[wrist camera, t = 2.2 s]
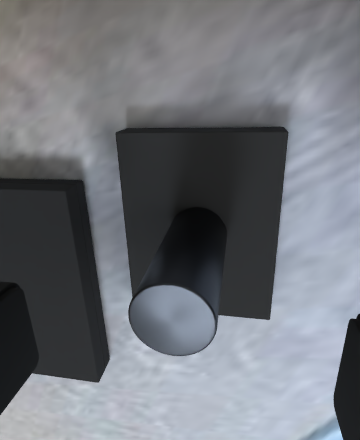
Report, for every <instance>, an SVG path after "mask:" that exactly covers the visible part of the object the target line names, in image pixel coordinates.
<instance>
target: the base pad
mask: <svg viewBox="0 0 360 440" xmlns="http://www.w3.org/2000/svg"><path fill="white" fill-rule="evenodd" d="M0 281H1V282H13V283H17V284H18V285H19V286H20V288H21V289H23V291H24V294H25V298H26V302H27V306H28V311H29V315H30V319H31V323H32V327H33V331H34V336H35V340H36V344H37V348H38V352H39V362H38V365H37V367H36V368H35V370H34V371H33V372H32V373H34V374H41V375H48V376H55V377H62V378H69V379H76V380H83V381H90V382H99V381H100V379H101V377H102V375H103V373H104V371H105V368H106V366H107V364H108V362H109V360H110V358H109V352H108V345H107V338H106V332H105V325H104V318H103V312H102V305H101V298H100V292H99V285H98V278H97V272H96V265H95V258H94V252H93V245H92V238H91V232H90V225H89V218H88V212H87V205H86V198H85V192H84V185H83V181H82V180H44V179H0Z"/></svg>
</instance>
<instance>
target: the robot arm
mask: <svg viewBox="0 0 360 440" xmlns="http://www.w3.org/2000/svg"><path fill="white" fill-rule="evenodd" d="M38 362H39V352H38V348H37V344H36V340H35V336H34V331H33V327H32V323H31V319H30V315H29V311H28V306H27V302H26V298H25V294H24V291H23V289H21V288H20V286H19V285H18V284H17V283H13V282H1V281H0V415H1V413H2V412H3V411H4V409H5V408H6V407H7V406H8V404H9V403H10V402H11V400H12V399H13V398H14V396H15V395H16V394H17V392H18V391H19V390H20V388H21V387H22V386H23V384H24V383H25V382H26V380H27V379H28V378H29V376H30V375H31V374H32V372H33V371H34V370H35V368H36V367H37V365H38ZM334 408H335V412H336V416H337V419H338V423H339V426H340V430H341V433H342V437H343V440H360V314H358V316H357V318H356V319H350V320H349V324H348V328H347V333H346V338H345V343H344V348H343V353H342V358H341V362H340V367H339V372H338V377H337V382H336V387H335V392H334Z"/></svg>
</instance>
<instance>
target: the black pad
mask: <svg viewBox="0 0 360 440" xmlns="http://www.w3.org/2000/svg"><path fill="white" fill-rule="evenodd" d="M287 140H288V131H287V130H286V129H285V128H284V127H241V128H127V129H124V130H121V131H119V132H116V142H117V151H118V161H119V171H120V180H121V190H122V200H123V209H124V219H125V229H126V238H127V248H128V258H129V267H130V277H131V287H132V296H133V298H132V300H131V302H130V305H129V311H128V312H129V321H130V324H131V327H132V329H133V331H134V333H135V334H136V335H137V337H138V338H139V339H140V340H141V341H142V342H143V343H144V344H146V345H147V346H149V347H150V348H152V349H154V350H156V351H158V352H160V353H163V354H167V355H172V356H186V355H191V354H195V353H197V352H200V351H201V350H203V349H204V348H206V347H207V346H208V345H209V344H210V343H211V341H212V340H213V339H214V336H215V334H216V331H217V323H218V315H224V316H234V317H245V318H255V319H266V320H270V314H271V304H272V293H273V283H274V273H275V263H276V252H277V242H278V232H279V222H280V212H281V201H282V191H283V181H284V171H285V160H286V150H287Z"/></svg>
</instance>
